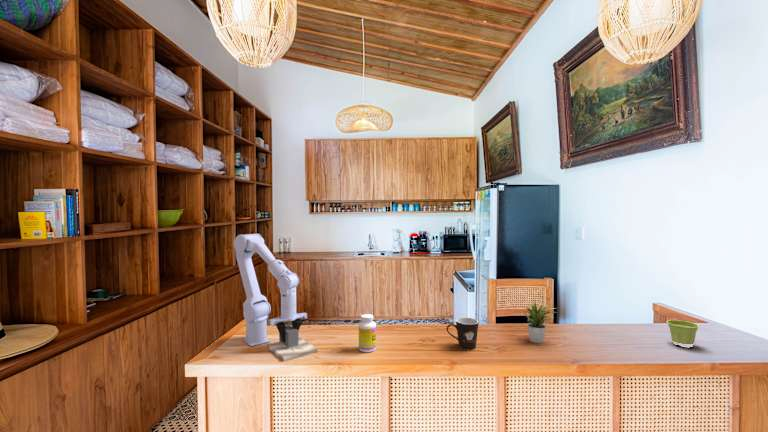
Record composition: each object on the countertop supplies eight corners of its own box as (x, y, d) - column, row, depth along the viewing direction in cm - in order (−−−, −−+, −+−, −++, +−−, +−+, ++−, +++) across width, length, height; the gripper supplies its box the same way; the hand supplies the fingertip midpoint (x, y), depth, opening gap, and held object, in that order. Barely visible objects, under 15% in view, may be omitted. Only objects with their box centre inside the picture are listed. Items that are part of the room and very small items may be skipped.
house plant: (546, 351, 126) (546, 308, 126) (511, 341, 137) (511, 301, 137) (562, 342, 136) (561, 301, 136) (528, 333, 146) (528, 295, 146)
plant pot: (672, 348, 129) (672, 325, 129) (662, 339, 138) (662, 318, 137) (704, 352, 125) (704, 328, 125) (692, 343, 134) (692, 321, 134)
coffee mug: (480, 344, 134) (480, 319, 134) (476, 352, 126) (476, 325, 126) (451, 340, 139) (451, 315, 139) (445, 347, 131) (445, 321, 131)
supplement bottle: (373, 353, 126) (373, 318, 126) (356, 352, 127) (356, 317, 127) (377, 346, 132) (377, 313, 132) (361, 345, 133) (361, 312, 133)
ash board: (267, 347, 132) (267, 344, 132) (299, 339, 140) (299, 336, 140) (283, 361, 119) (283, 357, 119) (317, 351, 127) (317, 348, 127)
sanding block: (279, 341, 134) (279, 326, 134) (289, 339, 137) (288, 324, 137) (288, 348, 127) (288, 332, 127) (298, 346, 130) (298, 330, 130)
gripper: (274, 310, 124) (274, 347, 124) (310, 304, 133) (310, 338, 133) (267, 306, 130) (267, 342, 130) (302, 300, 139) (302, 333, 139)
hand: (288, 340), depth 132 cm, fingers closed on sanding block, 4 cm apart
